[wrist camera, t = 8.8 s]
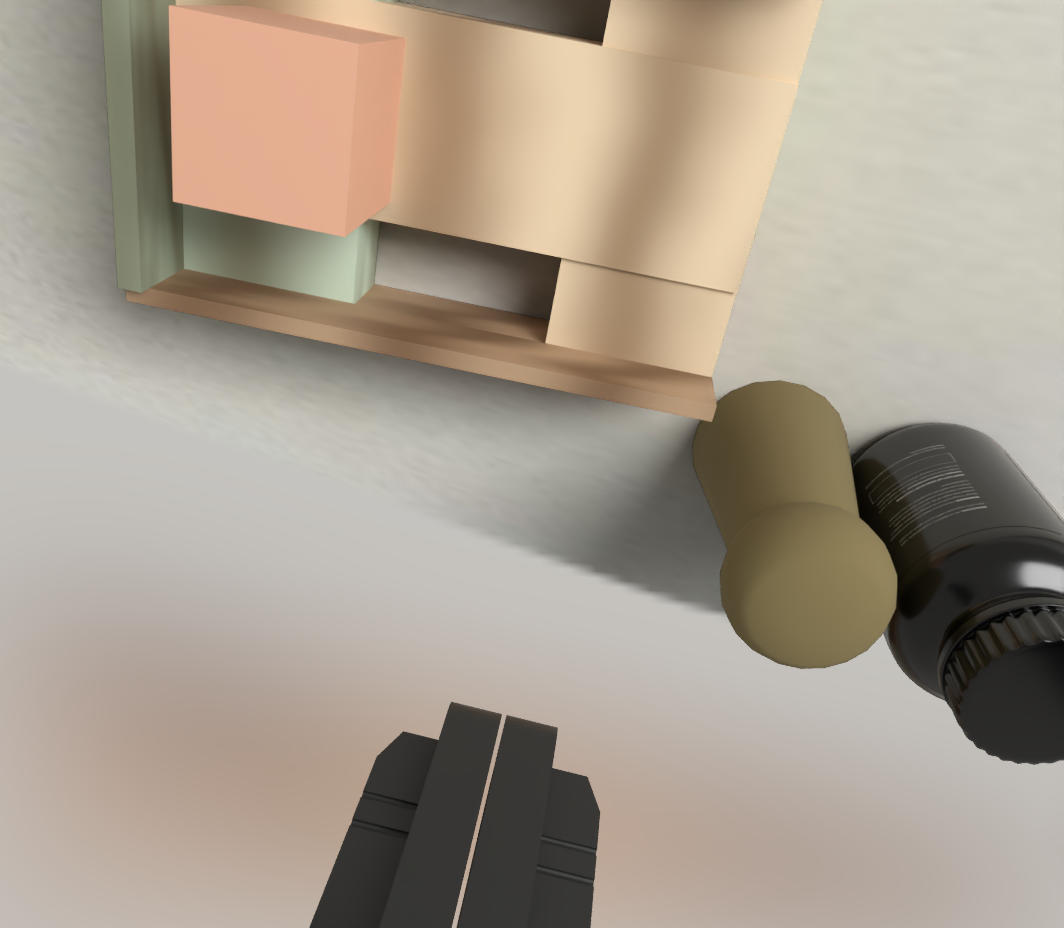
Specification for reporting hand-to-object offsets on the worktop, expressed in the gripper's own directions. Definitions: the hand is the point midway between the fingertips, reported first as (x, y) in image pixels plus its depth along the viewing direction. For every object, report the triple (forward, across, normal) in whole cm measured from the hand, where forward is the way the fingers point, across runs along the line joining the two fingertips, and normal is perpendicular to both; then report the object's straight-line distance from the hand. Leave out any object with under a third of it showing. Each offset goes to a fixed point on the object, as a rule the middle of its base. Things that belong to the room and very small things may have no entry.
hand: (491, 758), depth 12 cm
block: (+20, +10, -5) cm, 23 cm away
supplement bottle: (+24, -14, +5) cm, 28 cm away
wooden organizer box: (+23, +6, -5) cm, 24 cm away
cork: (+24, -8, +5) cm, 26 cm away
